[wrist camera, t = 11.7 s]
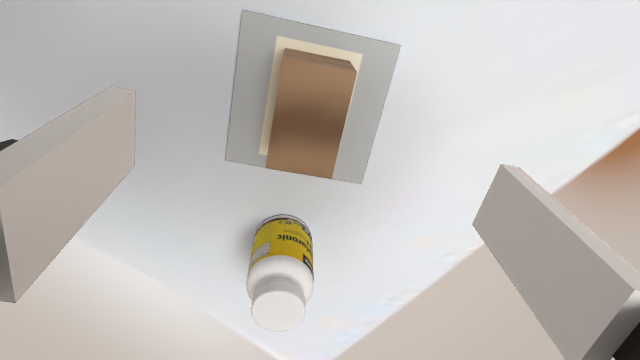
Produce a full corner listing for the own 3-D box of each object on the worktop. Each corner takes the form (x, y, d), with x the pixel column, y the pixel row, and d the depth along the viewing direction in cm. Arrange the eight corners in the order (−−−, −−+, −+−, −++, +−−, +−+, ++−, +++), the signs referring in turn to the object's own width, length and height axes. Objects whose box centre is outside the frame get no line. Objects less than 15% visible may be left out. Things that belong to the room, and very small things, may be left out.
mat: (225, 158, 34) (224, 161, 33) (243, 10, 29) (242, 10, 28) (360, 182, 35) (361, 184, 35) (399, 45, 30) (401, 45, 30)
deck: (285, 47, 30) (282, 57, 25) (349, 60, 30) (357, 72, 26) (269, 145, 33) (265, 167, 29) (328, 155, 34) (331, 179, 29)
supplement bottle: (323, 237, 38) (330, 312, 29) (284, 269, 39) (279, 350, 30) (282, 202, 36) (276, 271, 27) (243, 237, 37) (225, 314, 29)
